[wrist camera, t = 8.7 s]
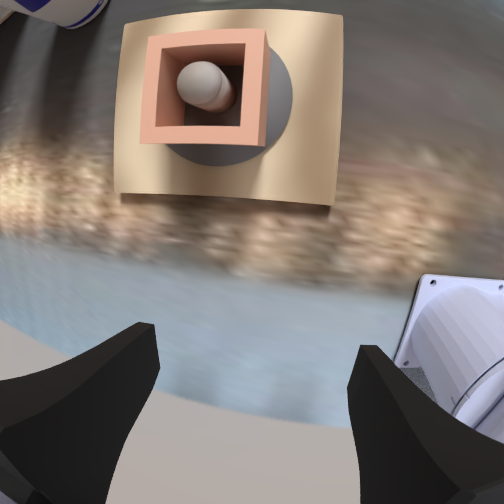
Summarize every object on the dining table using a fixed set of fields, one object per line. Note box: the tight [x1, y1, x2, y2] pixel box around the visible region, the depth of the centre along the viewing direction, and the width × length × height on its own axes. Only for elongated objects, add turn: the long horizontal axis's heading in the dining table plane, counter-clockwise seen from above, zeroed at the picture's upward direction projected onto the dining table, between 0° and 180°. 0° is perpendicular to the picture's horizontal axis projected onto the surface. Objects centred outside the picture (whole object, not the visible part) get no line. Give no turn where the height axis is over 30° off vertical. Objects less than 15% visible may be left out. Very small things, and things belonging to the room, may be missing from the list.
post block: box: [114, 9, 343, 206], centre depth 14 cm, size 14×12×6 cm
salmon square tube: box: [140, 28, 271, 147], centre depth 14 cm, size 6×6×4 cm
